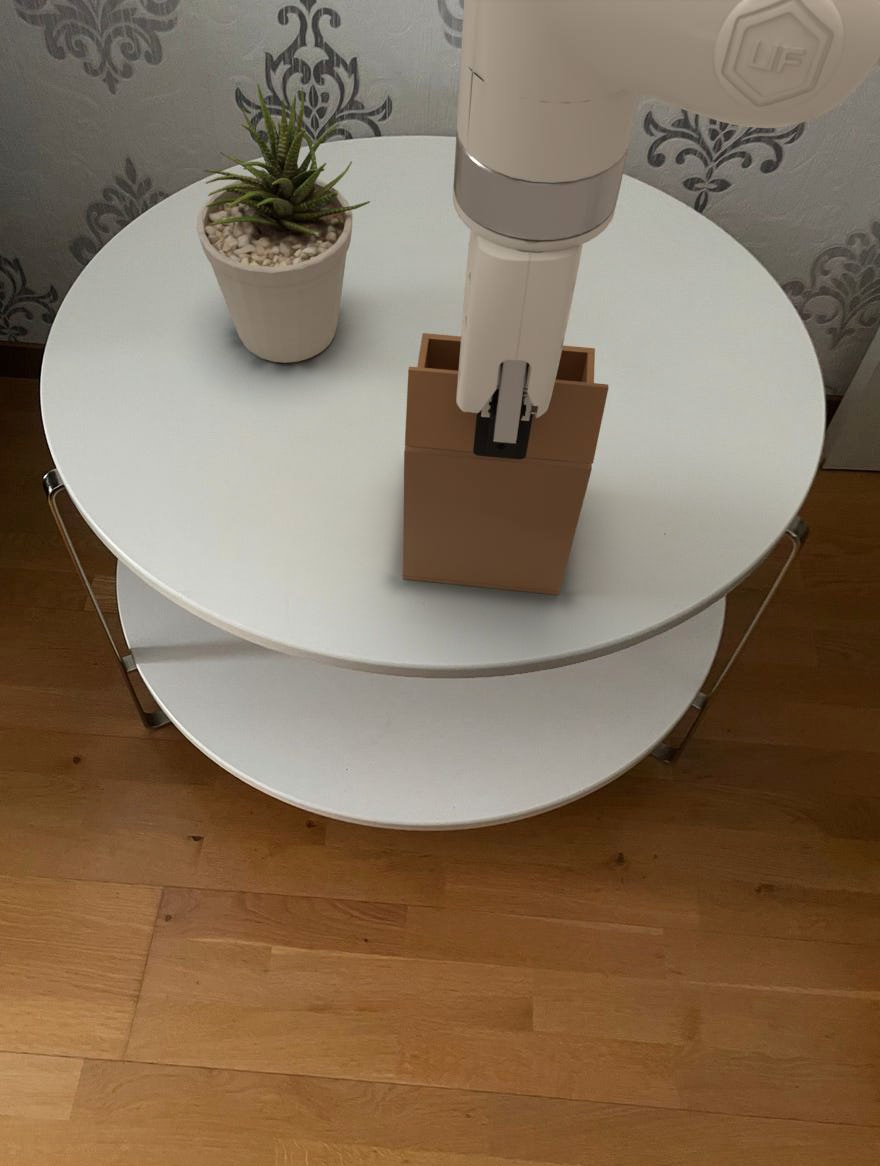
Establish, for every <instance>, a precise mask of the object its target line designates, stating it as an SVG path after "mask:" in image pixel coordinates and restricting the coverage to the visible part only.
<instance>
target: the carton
mask: <svg viewBox="0 0 880 1166" xmlns="http://www.w3.org/2000/svg"><path fill="white" fill-rule="evenodd" d="M460 346H461V335H449V334H438V333H428V332H427V333H426V332H423V333H422V334H421V340H420V347H419V354H418V361H417V366H416V367H421V368H432V369H443V370H454V371H459V360H460ZM595 357H596V349H595V347H586V346H583V347H582V346H573V345H563V348H562V353H561V357H560V362H559V366H558V371H557V375H556V379H555V380H565V381H576V382H587V383H595V360H596V358H595ZM403 450H404V451H403V507H402V508H403V509H402V510H403V511H402V513H403V515H402V529H403V530H402V580H408V581H409V580H411V581H421V582H428V583H429V582H430V583H438V584H447V585H457V586H468V587H477V588H486V589H495V590H506V591H515V592H516V591H518V592H524V593H525V592H526V593H536V594H537V593H538V594H546V595H554V596H555V595H556V596H559V595H560V593H561V588H562V585H563V584H562V583H563V581H564V576H565V573H566V570H567V566H568V561H569V557H570V554H571V550H572V546H573V543H574V538H575V535H576V531H577V527H578V523H579V521H580V520H579V519H580V516H581V511H582V508H583V505H584V501H585V496H586V493H587V489H588V485H589V481H590V477H591V474H592V469H593V465H592V463H581V462H571V461H560V460H549V459H539V458H528V457H525V458H524V459H508V458H497V457H486V456H477V455H475V454H474V453H473V452H465V451H455V450H444V449H434V448H423V447H413V446H405V445H404V449H403Z"/></svg>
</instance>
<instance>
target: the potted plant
mask: <svg viewBox="0 0 880 1166" xmlns="http://www.w3.org/2000/svg"><path fill="white" fill-rule="evenodd" d="M256 85H257V91H258V97H259V102H260V108H261V111H262V115H263V121H264V125H265V129H266V134H267V138H268V143H269V146H268V144H267V143H266V142H265V141H264V139H263V138H262V137H261V136H260V134H259V133H258V131H257V130H256V129H255V127H254V125H253V123H251V121H250V119H249V117H248V116H247V114H246V112H245V111H244V109H243V108H242V107H240V111H241V112H242V115H243V117H244V119H245V122H246V123H247V125H248V126H247V125H245V124H243V123H240V126H242V127H243V128H244V129H246V130H247V131H248V132H250V133H251V134H252V136H253V138H254V140H255V142H256V143H257V145H258V148H259V150H260V152H261V155H262V157H263V161H264V162H262V161H247V162H245V161H243V160H240V159H238V158H236V157H234V156H231V155H229V154H226V153H224V152H222V151H220V152H219V153H220V154H221V155H222V156H225V157H226V158H228V159H230V160H232V161H233V162H235V163H237V164H238V165H240V166H241V167H243V168H242V170H247V171H248V172H249V173H250V174H251V175H248V176H247V175H242V174H236V173H232V172H228V171H222V170H217V169H215V170H214V169H203V172H206V173H212V174H213V173H214V174H218V175H223V176H218V177H217V176H216V177H215V178H212V179H210V180H207V181H206V182H205V185H207V184H210V183H214V182H217V181H228V180H230V181H232V182H229V183H228V184H226V185H224V186H223V187H221V188H218V189H216V190H214V191H212V192H210V193H208V194H207V197H208V199H207V200H206V201H205V202H204V204H203V205H202V206H201V208H200V211H199V213H198V215H197V220H196V231H197V235H198V239H199V242H200V245H201V247H202V250H203V253H204V254H205V257H206V259H207V260H208V262H209V264H210V266H211V268H212V271H213V273H214V275H215V278H216V281H217V283H218V286H219V289H220V291H221V294H222V297H223V299H224V302H225V304H226V308H227V310H228V313H229V315H230V317H231V320H232V322H233V325H234V327H235V330H236V333H237V334H238V337H239V339H240V341H241V342H242V344H243V345H244V347H245V348H246V349H247V350H248V351H249V352H250V353H252V354H254V355H255V356H257V357H258V358H260V359H262V360H266V361H270V362H274V363H283V364H286V363H296V362H297V363H299V362H302V361H305V360H308V359H311V358H313V357H314V356H317V355H319V354H320V353H322V352H323V351H324V350H325V349H327V348H328V346H330V344H331V343H332V341H333V339H334V338H335V335H336V332H337V328H338V324H339V323H338V322H339V316H340V307H341V300H342V292H343V285H344V276H345V270H346V262H347V253H348V251H349V248H350V245H351V241H352V232H353V212H352V210H357V209H359V208H361V207H364V206H366V205H368V204H370V202H371V200H368V201H364V202H361V203H358V204H355V205H350V203H349V202H348V201H347V199H346V198H345V197H344V196H343V195H342V194H341V193H340V192H339V191H338V189H336V188H334V186H335V185H336V184H337V183H339V181H340V180H341V179H342V178H343V177H344V176H345V175H346V174H347V172H348V171H349V169H350V167H351V165H352V163H353V161H350V162H349V164H348V165H347V167H346V168H345V170H344V171H343V172H341V173H340V174H339V175H338V176H337V177H335V178H334V179H332V180H331V181H330V182H329V183H326V182H324V181H323V180H321V179H319V178H318V177H319V176H320V175H321V173H322V172H324V171H325V166H326V165H327V162H324V163H323V164H322V165H320V166H319V167H318V165H317V157H316V152H317V149H318V148H319V147H320V146H321V144H322V143H323V142H324V140H325V139H326V137H328V136H329V135H330V134H331V133H332V132H333V131H334V130H335V129H336V128H337V127H339V126H340V123H337V124H335V125H333V126H332V127H330V128H329V129H328V130H327V131H325V132H324V133H323V135H321V136H320V137H319V138H318V139H317V140H316V142H315V143H314V144H313V143H312V141H311V139H310V138H309V135H308V134H307V133H306V130H305V129H304V128H302V127H303V119H304V112H305V95H304V88H303V87H301V101H300V107H299V112H298V117H297V122H296V110H297V109H296V106H297V105H296V104H297V94H294V96H293V100H292V101H291V112H290V116H289V122H288V121H287V120H288V119H287V114H286V106H285V99H284V98H283V99H282V100H281V118H280V119H281V120H280V121H278V122H277V126H276V124H275V122H274V120H273V118H272V116H271V114H270V112H269V110H268V108H267V104H266V101H265V99H264V96H263V93H262V90H261V87H260V84H259V83H258V82H257V83H256ZM277 128H278V130H277ZM303 138H305V140H306V142H307V146H308V150H309V152H308V153H307V155H306V156H305V158H304V159H303V161H302V162H301V164H300V166H299V165H298V162H299V155H300V152H301V147H302V143H303ZM310 163H311V164H310ZM255 166H256V167H260V168H262V169H258V168H256V167H255ZM309 166H310V167H309ZM308 168H309V169H308Z"/></svg>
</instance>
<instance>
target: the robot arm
mask: <svg viewBox="0 0 880 1166" xmlns="http://www.w3.org/2000/svg"><path fill="white" fill-rule="evenodd" d="M462 15H463V16H462V30H461V51H460V70H459V84H458V85H459V86H458V101H457V115H456V116H457V118H456V135H455V149H454V150H455V151H454V152H455V153H454V169H453V185H452V204H453V207H454V210H455V211H456V213H457V216H458V218H459V219H460V220H461V221H462V223H463V224H464V225H465V226H466V227H467V228H468V229H469V230H470V232H469V241H468V248H467V249H468V251H467V260H466V269H465V282H464V293H463V307H462V308H463V311H462V322H461V335H460V336H461V346H460V360H459V373H458V384H457V396H456V402H457V405H458V406H459V408H460V409H461V410H462V411H463V412H472V413H477V417H476V427H475V437H474V447H473V453H474V454H475V455H477V456H486V457H497V458H508V459H524V458H525V457H526V453H527V448H528V442H529V436H530V430H531V424H532V419H533V414H535V417H536V418H538V417H540V416H541V415H543V414H544V413H545V412H546V411H547V410H548V407H549V403H550V400H551V396H552V392H553V387H554V383H555V379H556V375H557V371H558V366H559V362H560V357H561V353H562V348H563V346H564V342H565V337H566V333H567V329H568V324H569V320H570V319H569V318H570V314H571V310H572V309H571V308H572V303H573V299H574V294H575V289H576V288H575V287H576V283H577V278H578V272H579V267H580V262H581V256H582V250H583V246H584V244H586V243H588V242H590V241H591V240H593V239H595V238H597V237H598V236H599V235H601V234H602V232H604V231H605V230H606V229H607V228H608V226H609V224H610V223H611V222H612V221H613V218H614V215H615V211H616V207H617V203H618V202H617V201H618V199H619V194H620V189H621V184H622V180H623V175H624V172H625V167H626V162H627V157H628V153H629V149H630V142H631V137H632V132H633V128H634V123H635V118H636V115H637V114H636V113H637V110H638V103H639V100H640V96H644V97H646V98H650V99H652V100H655V101H658V102H662V103H665V104H667V105H670V106H673V107H676V108H678V109H681V110H684V111H687V112H689V113H693V114H695V115H699V116H701V117H704V118H708V119H711V120H714V121H716V122H719V123H725V124H729V125H732V126H733V125H734V126H737V127H743V128H744V127H746V128H757V129H777V128H785V127H790V126H795V125H800V124H802V123H805V122H808V121H811V120H814V119H816V118H818V117H820V116H822V115H824V114H826V113H828V112H830V111H831V110H833V109H834V108H836V107H837V106H839V105H840V104H842V103H843V102H844V101H845V100H847V98H849V97H850V96H851V95H852V94H853V93H854V92H855V91H857V89H858V88H859V87H860V86H861V84H862V83H863V82H865V80H866V79H867V78H868V76H869V74H870V73H871V72H872V69H874V67H875V66H876V64H877V62H878V61H879V58H880V0H463V13H462Z"/></svg>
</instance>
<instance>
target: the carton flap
mask: <svg viewBox="0 0 880 1166" xmlns="http://www.w3.org/2000/svg"><path fill="white" fill-rule="evenodd" d="M458 373H459V371H454V370H443V369H432V368H421V367H417V366H408V369H407V386H406V387H407V389H406V408H405V409H406V412H405V431H404V434H405V435H404V447H405V446H413V447H423V448H434V449H444V450H455V451H465V452H473V447H474V437H475V427H476V417H477V413H472V412H463V411H462V410H461V409H460V408H459V406H458V405H457V402H456V396H457V384H458ZM608 393H609V384H607V383H597V382H594V383H587V382H576V381H565V380H555V383H554V387H553V392H552V396H551V400H550V403H549V407H548V410H547V411H546V412H545V413H544V414H543V415H541V416H540V417H538V418H536V417H535V414H533V419H532V424H531V430H530V436H529V442H528V448H527V453H526V457H528V458H539V459H549V460H560V461H571V462H581V463H592V464H594V460H595V456H596V450H597V447H598V442H599V436H600V431H601V427H602V421H603V417H604V412H605V409H606V408H605V407H606V403H607V397H608Z"/></svg>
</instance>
